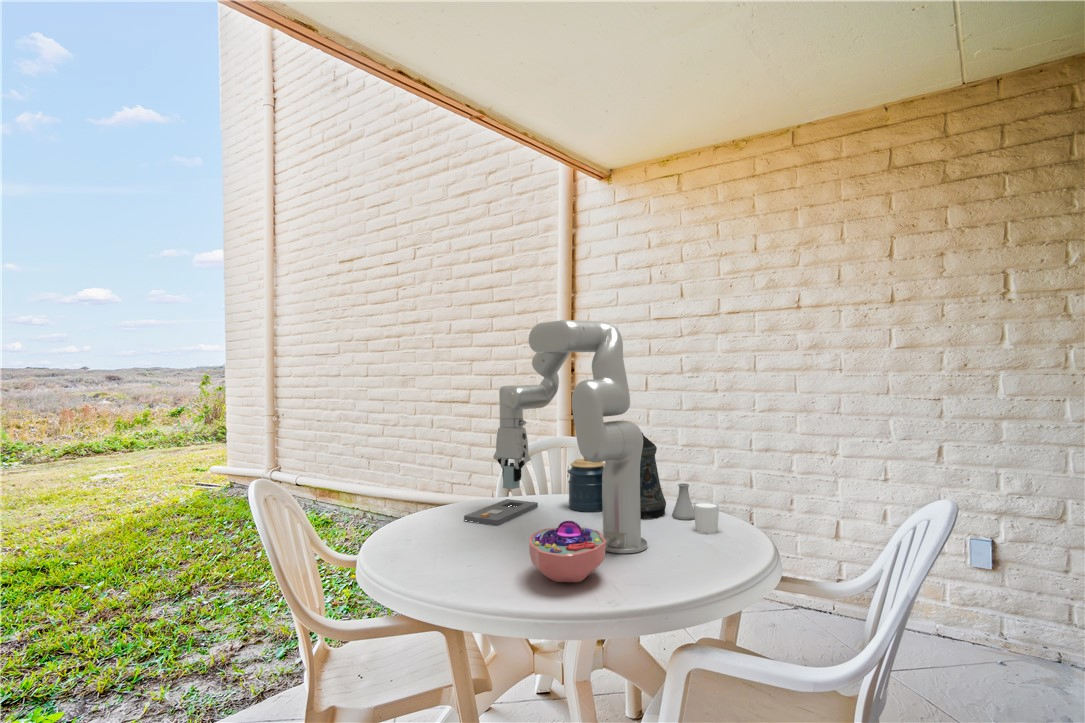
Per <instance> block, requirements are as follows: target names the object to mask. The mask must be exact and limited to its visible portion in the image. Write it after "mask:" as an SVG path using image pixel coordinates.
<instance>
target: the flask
mask: <svg viewBox="0 0 1085 723" xmlns="http://www.w3.org/2000/svg"><path fill="white" fill-rule="evenodd" d="M677 485H678V496H677V500H676V503H675V506H674V507H673V511H672V514H671V516H672V518H674V519H676V520H677V519H678V520H682V521H683V520H684V521H685V520H689V521H690V520H695V516H694V507H693V504H692V501H691V498H690V493H689V487H690V484H689V483H685V482H684V483H683V482H681V483H678V484H677Z"/></svg>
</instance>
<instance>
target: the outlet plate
mask: <svg viewBox="0 0 1085 723" xmlns="http://www.w3.org/2000/svg"><path fill="white" fill-rule="evenodd" d="M510 505H512V506H517V507H508V506H510ZM537 507H538V508H539V503H538V502H536V501H528V500H518V499H509V498H507V499H503V500H501V501H499V502H496V503H493V504H491V505H489V506H486V507H483V508H481V509H478V510H476V511H473V512H470V513H467V514H465V515H464V516H463V521H464V520H467V521H473V522H472V523H474V522H479V523H478V524H481V523H485V524H484V525H488V524H491V525H490V526H495V525H497V526H496V527H498V526H500V524H501V525H503V524H505V523H507V522H509V521H512V520H513V518H514V519H516V518H518V517H520V516H522V514H523V515H525V514H527V513H529V512H531V511H533V510H532V509H534V510H535V508H536V509H537ZM530 510H531V511H530ZM528 511H529V512H528ZM526 512H527V513H526ZM524 513H525V514H524ZM517 516H518V517H517ZM515 517H516V518H515ZM511 519H512V520H511ZM467 521H466V522H467ZM506 521H507V522H506ZM504 522H505V523H504ZM502 523H503V524H502Z"/></svg>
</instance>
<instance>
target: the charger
mask: <svg viewBox="0 0 1085 723" xmlns="http://www.w3.org/2000/svg"><path fill="white" fill-rule="evenodd" d="M514 469H516V468H515V462H509V464H508V466H504V470H503V476H502V481H503V482H502V489H508V490H517V489H519V488H521V487H520V486H521V485H520V482H521V480H519V481H517V482H516V481H514Z"/></svg>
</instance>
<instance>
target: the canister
mask: <svg viewBox="0 0 1085 723" xmlns="http://www.w3.org/2000/svg"><path fill="white" fill-rule="evenodd" d="M569 464H570V466H571V468H569V470H567V472H568V474H569V480H568V482H567V483H568V505H569V509H571V510H574V511H576V512H583V513H584V512H588V513H589V512H590V513H593V512H600V511H602V512H603V503H602V474H603V469H604V466H605V462H604V461H603V462H590V461H587V460H586V459H585V458H584V457H583V458H578V459H574V461H573V462H571V463H569Z"/></svg>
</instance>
